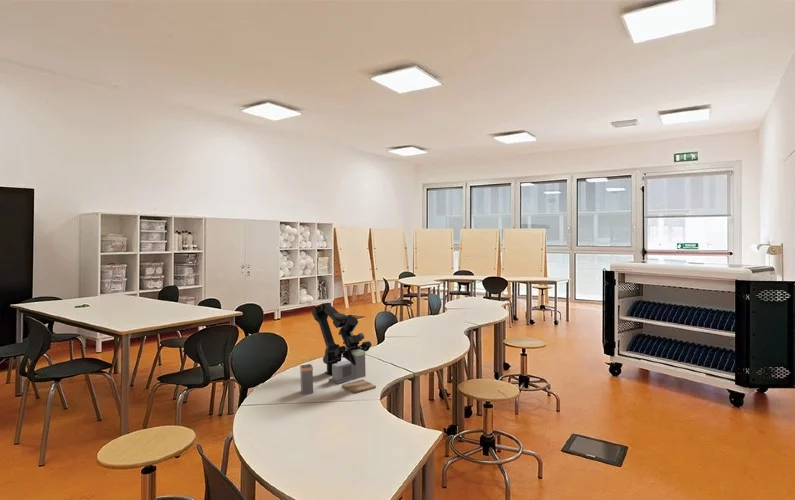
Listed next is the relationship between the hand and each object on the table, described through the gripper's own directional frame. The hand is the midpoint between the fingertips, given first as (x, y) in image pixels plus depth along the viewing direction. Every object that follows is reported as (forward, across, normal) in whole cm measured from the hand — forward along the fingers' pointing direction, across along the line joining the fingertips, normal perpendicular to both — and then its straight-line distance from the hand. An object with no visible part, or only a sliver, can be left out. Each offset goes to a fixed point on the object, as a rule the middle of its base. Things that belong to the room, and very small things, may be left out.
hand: (359, 363), depth 216 cm
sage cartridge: (+4, 0, +6) cm, 7 cm away
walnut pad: (+8, 0, +9) cm, 12 cm away
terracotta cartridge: (0, -23, +17) cm, 28 cm away
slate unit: (-3, 0, +20) cm, 20 cm away
